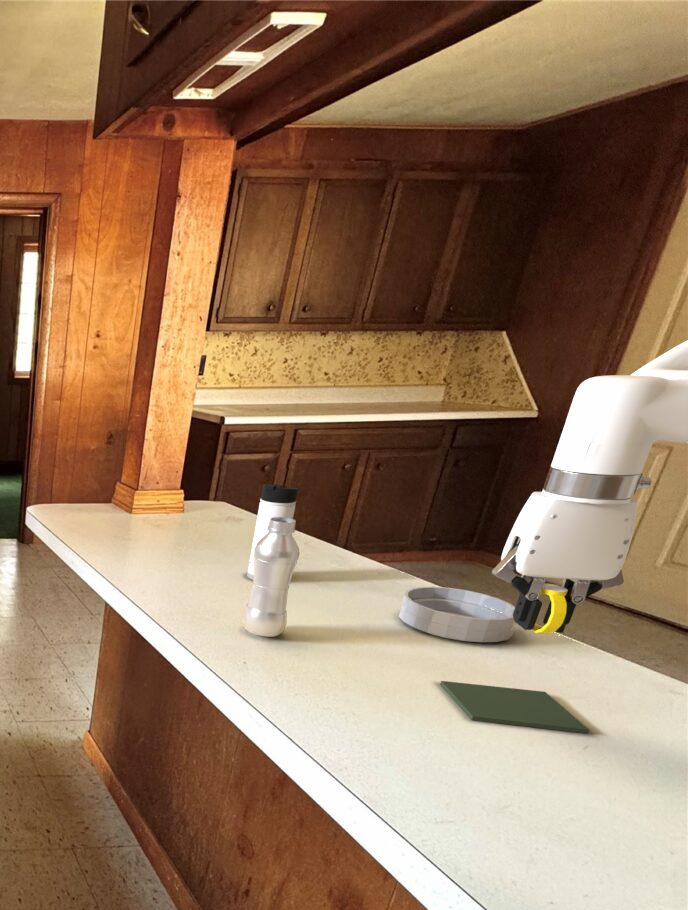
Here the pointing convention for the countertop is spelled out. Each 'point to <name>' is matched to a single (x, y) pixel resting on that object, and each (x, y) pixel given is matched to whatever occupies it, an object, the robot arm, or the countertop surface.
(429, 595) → the basin
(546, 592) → the watch
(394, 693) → the countertop surface
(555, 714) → the mat
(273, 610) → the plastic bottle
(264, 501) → the travel mug
